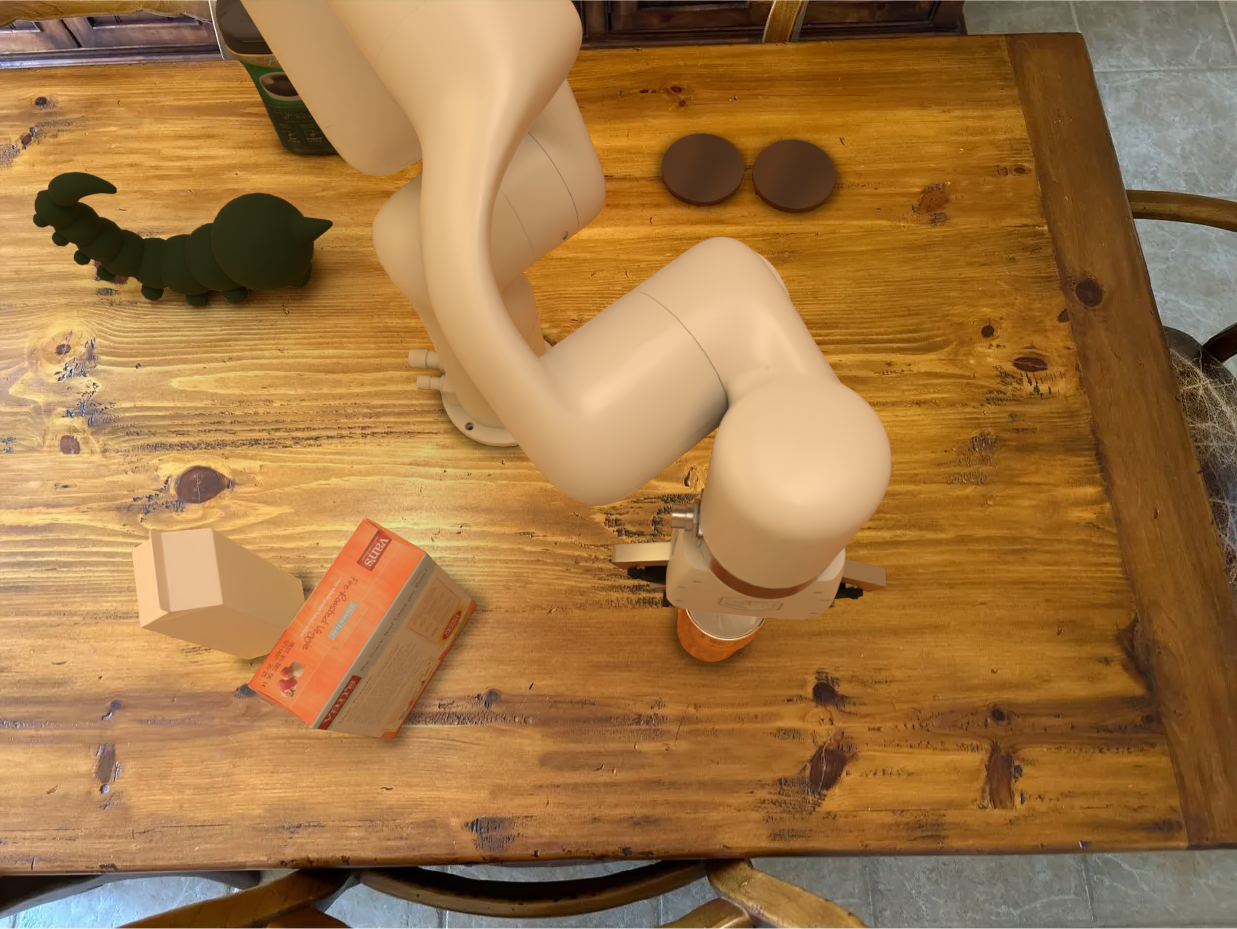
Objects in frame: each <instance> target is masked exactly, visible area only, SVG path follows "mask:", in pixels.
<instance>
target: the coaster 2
mask: <svg viewBox="0 0 1237 929" xmlns="http://www.w3.org/2000/svg"><path fill="white" fill-rule="evenodd" d="M751 177H752V184H753V187H754V191H755V192H756V194H757V195H758V196H759V198H760V199H761V200H762V201H763V202H765V203H766V204H767V205H768V206H770V207H772V208H774V209H776V210H779V211H782V212H785V213H791V214H792V213H793V214H794V213H797V214H799V213H806V212H809V211H812V210H815V209H817V208H818V207H820V206H822V205H823V204H824V203H825V202H826V201H827V200H828V199H829V198H830V197H831V195H832V193H833V190H834V188H835V185H836V181H837V180H836V179H837V172H836V167H835V164H834V163H833V161H832V159H831V157H830V155H829V154H827V153H826V152H825V151H824V150H823V149H822V148H821V147H819V146H817V145H815V144H813V143H811V142H808V141H805V140H801V139H784V140H779V141H777V142H774V143H771V144H770V145H768V146H766V147H765V148H764V149H763V150H762V151H761V152H760V153H759V154H758V155H757V157H756V159H755V161H754V163H753V166H752V174H751Z"/></svg>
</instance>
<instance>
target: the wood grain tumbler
mask: <svg viewBox="0 0 1237 929" xmlns="http://www.w3.org/2000/svg"><path fill="white" fill-rule="evenodd" d="M677 616H678V617H677V623H676V632H677V638H678V640H679V643H680V644H681V646H682V647H683V649H684V650H685V651H686V652H687V653H688V654H689V655H691V657H693V658H695V659H697V660H700V661H702V662H708V663H715V662H721V661H723V660H726V659H728V658H729V657H731V656H732V655H734V654H735V653H736V651H738V650H740V649H742V648H744V647H746V646H747V645H748V644H749V643H751V642H752V641H753V640H754V639H755V638H756V637H757V635H758V634H759V633H760V631H761V629H762V628H763V626H764V624H765V622H766V620H767V618H765V617H753V616H742V615H732V614H722V613H711V612H702V611H693V610H687V609H682V608H678V607H677Z"/></svg>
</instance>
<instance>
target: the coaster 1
mask: <svg viewBox="0 0 1237 929" xmlns="http://www.w3.org/2000/svg"><path fill="white" fill-rule="evenodd" d="M744 173H745V165H744V160H743V157H742V154H741V152H740V151H739V150H738V149H737V148H736V146H735V145H733V143H732V142H730V141H729V140H727V139H726V138H724V137H721V136H719V135H716V134H711V133H702V132H701V133H692V134H688V135H685V136H683V137H680V138H679V139H677V140H675V141H674V142H673V143H672V144H670V146H669V147H668V148H667V149H666V151H665V153H664V155H663V158H662V161H661V179H662V182H663V184H664V186H665V187H666V189H667V190H668V191H669V193H670V194H671V195H673V196H674V197H675V198H676V199H678V200H679V201H681V202H684V203H686V204H689V205H693V206H699V207H706V206H707V207H708V206H714V205H718V204H721V203H723V202H725V201H726V200H728V199H730V198H731V197H733V195H734V194H736V192H737V191H738V189H739V188H740V187H741V184H742V182H743V179H744V178H743V177H744Z"/></svg>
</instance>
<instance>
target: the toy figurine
mask: <svg viewBox="0 0 1237 929" xmlns="http://www.w3.org/2000/svg"><path fill="white" fill-rule="evenodd" d="M117 192H118V188H117V187H116V185H115V184H114V183H111V182H110V181H108V180H107V179H103V178H102V177H99V176H97V175H96V174H95V175H94V174H91V173H88V172H82V171H81V172H80V171H72V172H63V173H61V174H58V175H56V176H55V177H53V178H52V179H51V180H49V183H48V184H47V189H43V190H39V191H38V192H37V193H36V194H37V195H36V198H35V199H34V211H35V213H34V214H33V216H32V222H33V224H34V225H35V226H36V227H37V228H41V229H42V228H48V227H52V228H53V230H54V232H53V233H52V235H51V241H52V243H53V244H54V245H55V246H57V247H61V248H62V247H63V248H64V247H66V246H68V245H69V244H72V245H75V246H76V247H77V250H75V251H74V254H73V261H74V262H75V263H76V264H77V265H80V266H86V265H89V264H90V263H91V260H92V261H95V262H98V263H100V264H99V265H98V267H97V268H96V277H98V278H99V280H101V281H102V282H103V281H104V282H112V281H114V280H115V278H116V277H121V278H134V279H135V280H136V281H137V282H138V283H140V284H141V289H140V293H141V295H142V296H143V297H144V299H147V300H148V301H152V302H156V301H159V300H160V299H162V298H163V297H164V294H165V289H168V290H170V292H174V293H177V294H179V295H182V296H185V301H186V302H187V304H188V305H190V306H193V307H196V308H200V307H203V306H205V304H206V303H207V300H208V297H207V293H208V292H210V291H217V292H220V294H221V295H222V297H223V298H224V300H225V301H226V302H227V303H231V304H236V305H240V304H243V303H244V302H246V301H247V300H248V299H249V295H250V290H254V291H261V292H273V291H279V290H280V291H281V290H285V289H287V288H289V287H291V288H294V289H301V288H304V287H306V286H307V285H308V284H309V283H310V281H311V278H312V276H313V275H312V274H313V262H312V261H313V257H314V253H315V241H317V240H318V239H319V238H320V237H321V236H323V235H324V234H325V233H326V232H328V231H329V230H331V228H332V227H333V226H334V223H333V221H332V220H331V219H326V218H318V217H311V216H304V214H303V213H302V212H301V211H300V210H299V209H298V208H297V207H296V206H295V205H293V204H292V202H291V203H290V202H289V201H288V200H286V199H284V198H282V197H280V196H277V195H275V194H271V193H264V192H252V193H246V194H242V195H240V196H238V197H235V198H232V199H230V200H229V201H228V202H227V203H226V204H224V205H223V206H222V208H220V210H219V211H218V213H217V214H216V216H215V217H214V219H213V222H207V223H204V224H201V225H200V226H198V227H196V228H195V229H194V230H193V231H191V232H190V233H189V234H188V233H182V234H176V235H172V236H169V237H167V238H166V239H165V238H163V237H157V236H156V237H154V236H150V237H145V238H143V237H142V236H141V235H139V234H137V233H136V232H134V231H132V230H129V229H125V228H124V229H123V228H121V227H120V226H119V225H118V224H117V223H116V222H114V221H113V220H111V219H109V218H108V217H104V216H100V215H99V214H98V213H97V211H96V210H95V209H94V208H93V207H92V206H90V205H88V203H85V202H82V201H80V200H81V199H83V198H85V197H89V196H92V195H98V194H99V195H100V194H105V195H106V194H107V195H115V194H117Z"/></svg>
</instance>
